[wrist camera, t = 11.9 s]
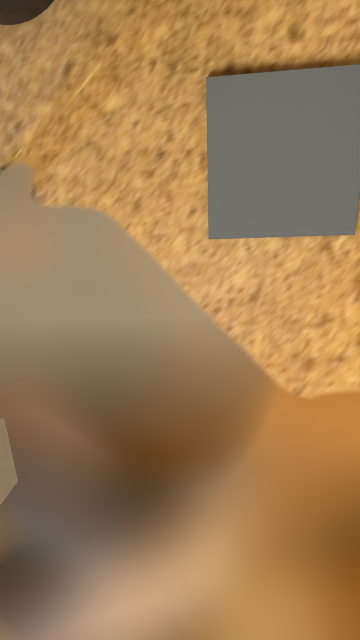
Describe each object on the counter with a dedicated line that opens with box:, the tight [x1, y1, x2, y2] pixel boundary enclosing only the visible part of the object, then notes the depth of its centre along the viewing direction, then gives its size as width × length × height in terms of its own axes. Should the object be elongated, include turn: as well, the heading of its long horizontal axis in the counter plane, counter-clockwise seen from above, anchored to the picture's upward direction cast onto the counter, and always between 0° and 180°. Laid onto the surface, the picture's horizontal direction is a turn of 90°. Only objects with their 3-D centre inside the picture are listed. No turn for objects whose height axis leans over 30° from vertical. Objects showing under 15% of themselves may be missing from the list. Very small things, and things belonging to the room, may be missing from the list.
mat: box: [206, 64, 360, 239], centre depth 37 cm, size 16×16×1 cm
